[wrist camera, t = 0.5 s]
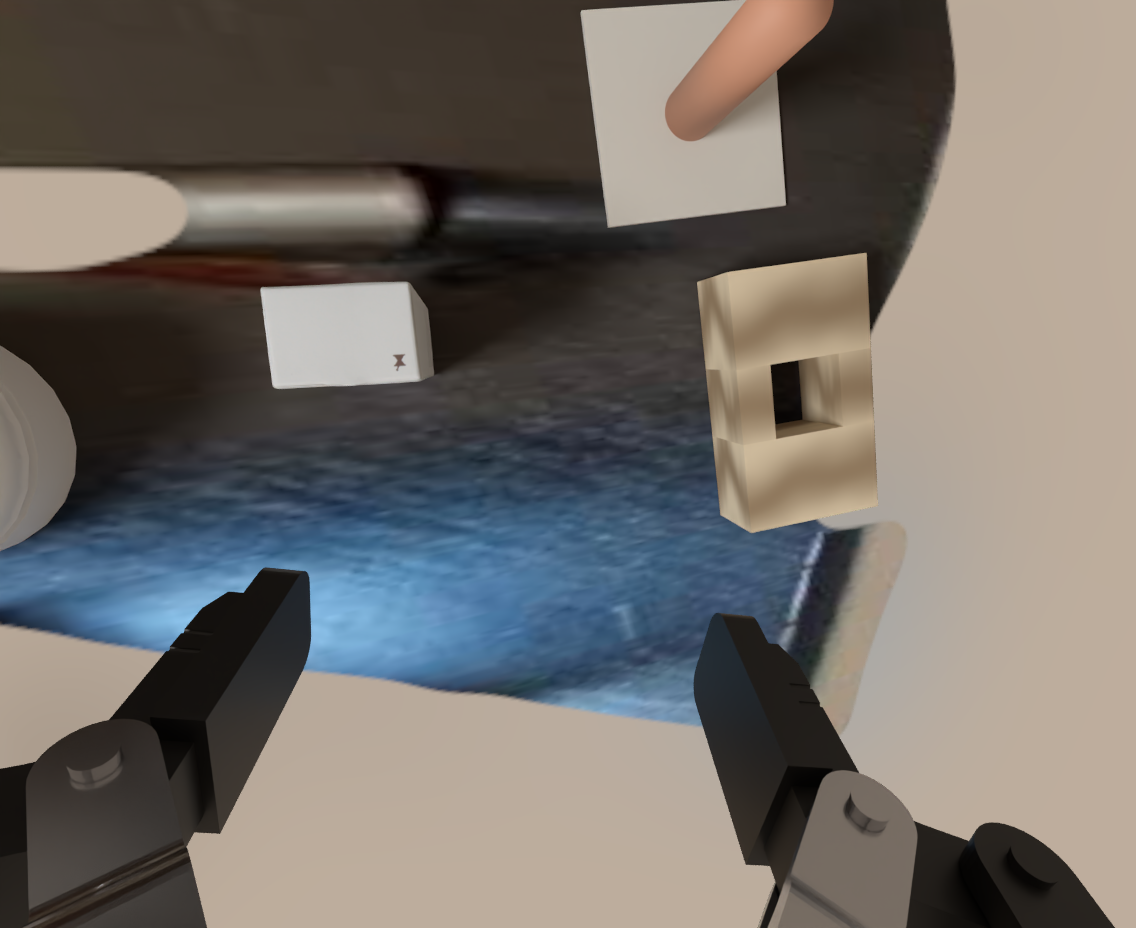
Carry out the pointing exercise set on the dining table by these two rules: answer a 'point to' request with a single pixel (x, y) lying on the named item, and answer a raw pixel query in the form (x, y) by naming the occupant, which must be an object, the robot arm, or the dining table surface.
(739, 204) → the mat
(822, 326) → the hole block
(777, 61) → the peg
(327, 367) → the skincare box
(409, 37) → the dining table surface
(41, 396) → the honey pot
